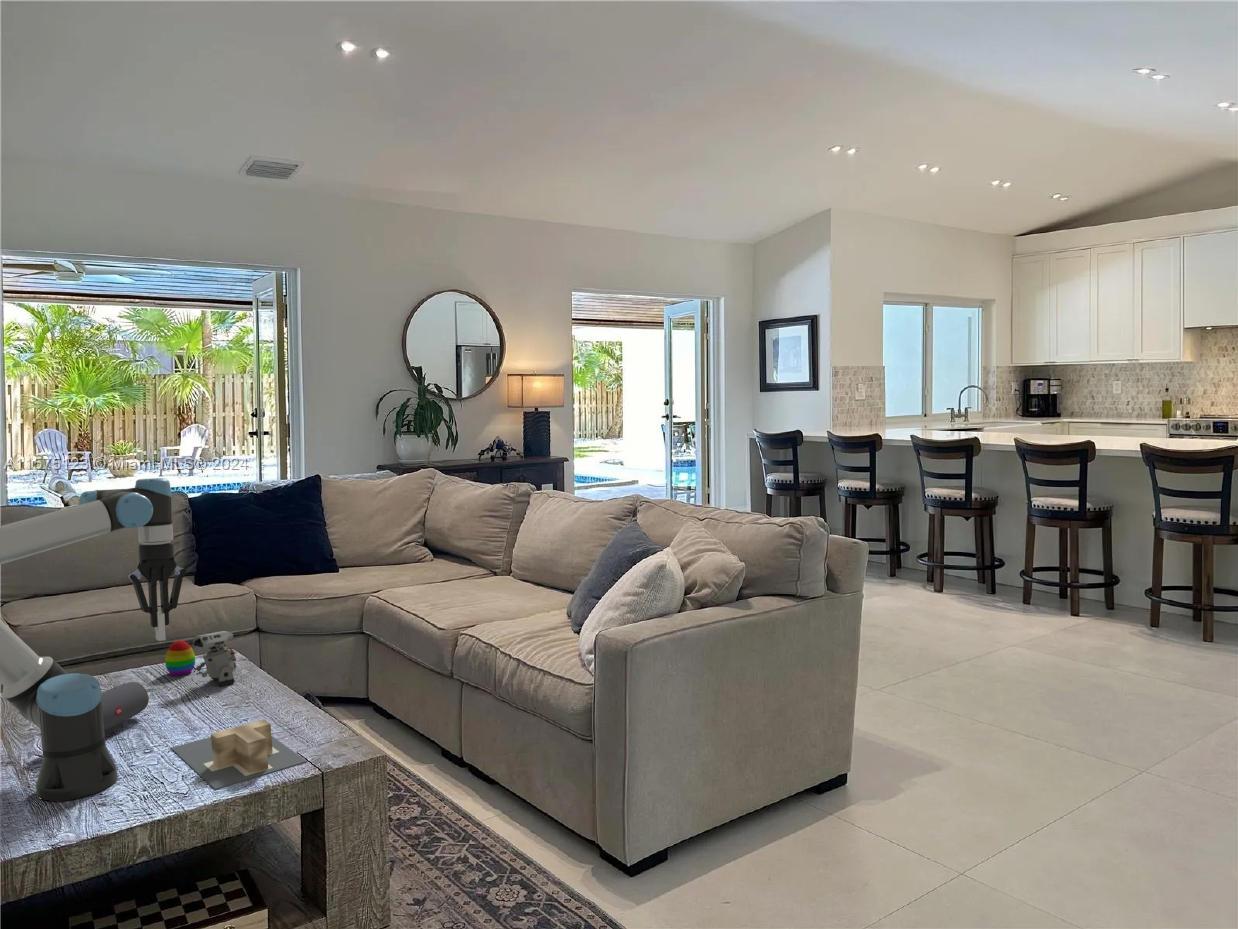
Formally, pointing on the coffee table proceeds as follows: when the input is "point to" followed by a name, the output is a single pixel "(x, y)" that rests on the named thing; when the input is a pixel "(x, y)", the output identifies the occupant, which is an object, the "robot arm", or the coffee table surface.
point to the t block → (243, 746)
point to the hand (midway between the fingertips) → (160, 639)
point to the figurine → (217, 657)
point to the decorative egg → (180, 658)
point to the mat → (202, 763)
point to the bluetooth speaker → (122, 704)
